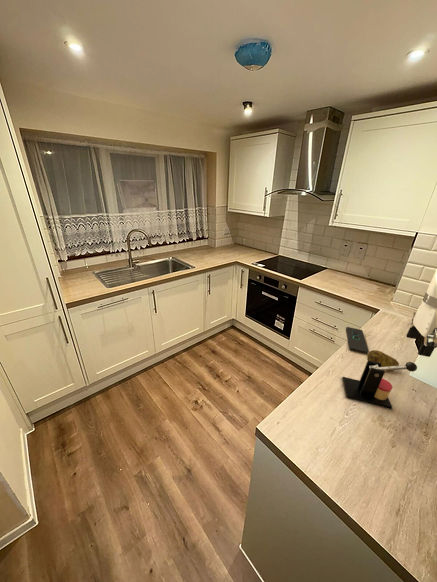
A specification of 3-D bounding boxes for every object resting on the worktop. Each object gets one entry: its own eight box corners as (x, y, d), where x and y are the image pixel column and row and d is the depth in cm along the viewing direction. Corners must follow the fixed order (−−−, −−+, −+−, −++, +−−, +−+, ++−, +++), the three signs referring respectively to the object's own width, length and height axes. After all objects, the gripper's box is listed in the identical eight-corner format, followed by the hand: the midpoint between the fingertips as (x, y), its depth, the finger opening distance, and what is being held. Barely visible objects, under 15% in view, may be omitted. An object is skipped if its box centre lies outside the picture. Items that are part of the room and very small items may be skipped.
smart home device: (362, 329, 128) (369, 351, 111) (361, 332, 129) (368, 354, 112) (346, 326, 131) (349, 347, 114) (345, 328, 131) (348, 350, 114)
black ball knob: (415, 366, 83) (414, 359, 82) (419, 373, 80) (418, 365, 79) (369, 370, 88) (368, 363, 88) (372, 376, 86) (370, 369, 85)
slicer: (382, 388, 94) (395, 361, 88) (391, 409, 85) (405, 381, 79) (341, 378, 98) (351, 352, 92) (345, 397, 89) (356, 370, 83)
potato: (399, 379, 98) (406, 364, 95) (364, 369, 103) (370, 355, 100) (395, 366, 105) (401, 352, 102) (363, 357, 110) (368, 343, 106)
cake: (384, 390, 91) (389, 379, 89) (389, 402, 86) (394, 391, 84) (368, 386, 93) (372, 376, 90) (371, 397, 88) (376, 387, 85)
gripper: (472, 317, 63) (443, 366, 70) (439, 292, 78) (419, 334, 85) (438, 312, 65) (414, 360, 72) (413, 288, 80) (395, 330, 87)
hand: (417, 346), depth 79 cm, fingers open, 9 cm apart
